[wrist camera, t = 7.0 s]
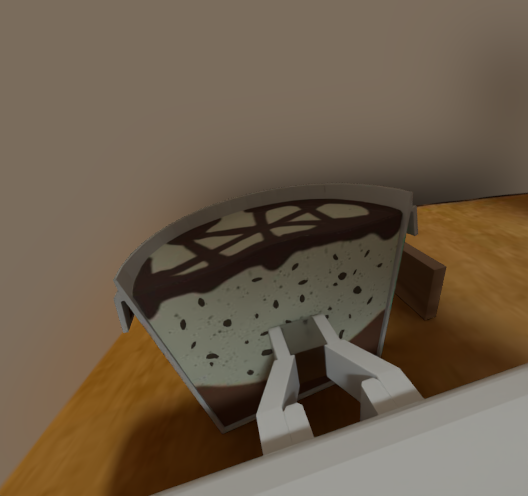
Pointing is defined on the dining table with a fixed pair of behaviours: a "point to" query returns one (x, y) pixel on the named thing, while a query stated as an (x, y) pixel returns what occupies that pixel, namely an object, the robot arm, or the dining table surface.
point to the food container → (265, 283)
